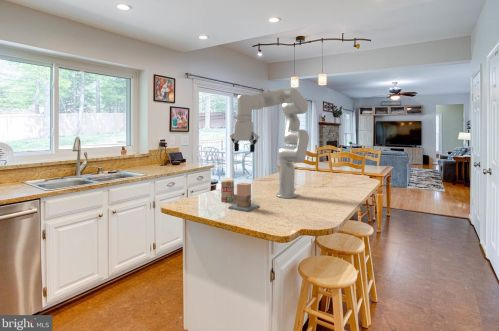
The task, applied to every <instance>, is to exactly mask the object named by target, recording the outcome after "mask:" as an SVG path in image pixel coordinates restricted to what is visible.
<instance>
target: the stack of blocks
mask: <svg viewBox="0 0 499 331" xmlns="http://www.w3.org/2000/svg"><path fill="white" fill-rule="evenodd" d="M234 181H235V180H234V178H233V177H223V178H222V180H221V183H220V184H221V186H220V187H221V189H220V191H221V195H220V196H221V198H220V199H221V200H220V201H221V203H232V202H233V199H234V195H235V182H234Z"/></svg>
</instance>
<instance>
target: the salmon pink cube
mask: <svg viewBox="0 0 499 331" xmlns="http://www.w3.org/2000/svg"><path fill="white" fill-rule="evenodd" d="M237 195H238V196H245V197H246V196H249V195H251V196H252V183H250V182H249V183H247V182H239V183H237V184H236V196H237Z"/></svg>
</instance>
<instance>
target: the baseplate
mask: <svg viewBox="0 0 499 331" xmlns="http://www.w3.org/2000/svg"><path fill="white" fill-rule="evenodd" d="M259 207H260V205H259V204H254V203H251V206H249V207H246V208H244V207H238V206H237V203H235V204H231V205H229V206H228V209H230V210H236V211H241V212H246V213H248V212H251V211H253V210H256V209H258V208H259Z"/></svg>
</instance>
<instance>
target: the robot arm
mask: <svg viewBox="0 0 499 331" xmlns="http://www.w3.org/2000/svg"><path fill="white" fill-rule="evenodd" d="M236 100H237V101H236V102H237V104H236V105H237V109H236V110H237V113H236V116H235V120H236V121H235V122H234V123H235V125H234V130H233V133H232V134H230V140H231V141H232V142H233V145H234V152H239V149H240V148H239V147H240V144H239V142H241V141H242V142H243V141H248V142H249V143H250V145H249V152H250V153H254V152H255V146H256V144H257V143H258V140H259V138H260V136H259V135H258V134H256V133H255V129H254V122H253V121H252V119H253V118H252V116H253V114H252V113H253V111H256V110H257V111H258V110H262V109H263V108H269V107H271V108H272V107H275V106H279V105H281V110H282V112H283V114H284V116H285V119H286V123H285V130H284V135H283V142H284V143H285V144H286V145H284V146H282V147H280V148H279V149H278V153H277V156H278V161H279V162H278V163H279V171H278V172H279V176H278V177H279V180H278V186H279V187H278V192H277V193H276V197H277V198H283V199H294V198H296V197H298V196H297V193H295V191H296V188H295V178H296V177H295V176H296V175H295V173H296V169H295V165H294V163H297V164H298V163H299V164H300V163H303V162H304V161H305V159H306V157H307V153H308V147H309V140H310V135H309V132H308V131H307V130H306V129H300V128H301V127H300V126H301V120H300V118H299V117H298V115H303V114H305V113H307V112H308V110H309V104H308V101H307V100H306V98H304V96H303V95H302V93H301V92H300V91H299V90H298V89H296V88H294V87H291V88H290V87H289V88H281V89H276V90H275V89H274V90H269V91H265V92H260V93H254V94H245V93H243V94H239V95H237V99H236Z"/></svg>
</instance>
